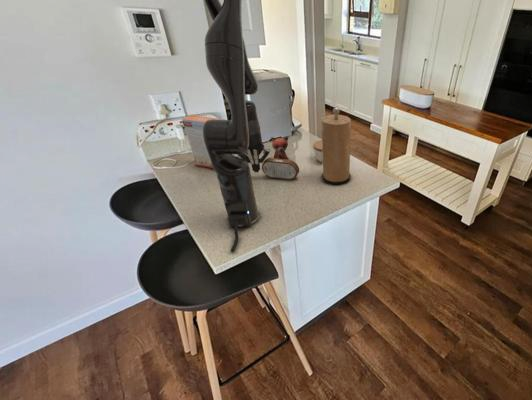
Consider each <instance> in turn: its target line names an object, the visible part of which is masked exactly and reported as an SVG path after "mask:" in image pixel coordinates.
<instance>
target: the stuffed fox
mask: <svg viewBox="0 0 532 400" xmlns="http://www.w3.org/2000/svg"><path fill="white" fill-rule="evenodd" d="M289 139H290V137H289V136H286V137H278V138H276V137H274V136H273V137H272V136H271V137H270V140H271V141H272V144H271V147H272V148H273V149H274V154H273V158H278V159H287V160H290V159H289V157H288V155H287V153H286V150H287V149H288V146H289V142H288V141H289Z"/></svg>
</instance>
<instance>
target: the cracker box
mask: <svg viewBox="0 0 532 400" xmlns="http://www.w3.org/2000/svg"><path fill="white" fill-rule="evenodd" d="M212 119H217V120H222V118H218V117H217V118H216V117H210V116H203V115H197V114H190V115H187V116H185V117H183V118H181V120H182V121H181V122H182V123H183V127H184V131H185V135H186V136H187V140H188V144H189V146H190V150H191V152H192V156H193V159H194V162H195V166H198V167H204V168H209V169H213V166H212V163H211V160H210V157H209V155H208V152H207V149H206V146H205V143H204V139H203V126H204V123H205V122H206V121H207V120H212Z"/></svg>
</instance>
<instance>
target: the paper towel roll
mask: <svg viewBox="0 0 532 400" xmlns="http://www.w3.org/2000/svg"><path fill="white" fill-rule="evenodd" d="M340 111H341V110H340V108H339V107H338V106H337V107H336V106H335V107H333V109H332V112H333V114H329V115H324V116H323V117H321V140H322V154H323V163H322V174H321V180H322V181H323V182H324V183H325V184H328V185H331V186H342V185H346V184H348V183H349V182H350V181H351V173H350V166H351V164H350V163H351V136H352V134H351V132H352V119H351V118H350V117H349V116H346V115H342V114H339V113H340Z"/></svg>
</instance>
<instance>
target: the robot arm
mask: <svg viewBox="0 0 532 400" xmlns="http://www.w3.org/2000/svg"><path fill="white" fill-rule="evenodd" d="M203 1H204V4H205V7H206V9H207V11H208V15H209V16H210V19H211V21H212V23H211V24H210V26H209V28H208V30H207V31H206V34H205V37H204V52H205V53H204V54H205V64H206V69H207V70H208V73H209V74H210V76H211V77H212V79H213V80H214V82H215V84H216V85H217V87H218V88H219V89H220V91H221V92H222V94H223V96H224V97H225V99H226V101H227V103H228V105H229V110H230V114H231V119H221V120H217V119H218V118H217V119H212V120H207V121H206V122H205V123H204V126H203V139H204V143H205V146H206V149H207V152H208V155H209V157H210V160H211V163H212V166H213V168H212V170H213V171H214V172H215V174H216V178H217V182H218V185H219V186H218V187H219V190H220V192H221V196H222V200H223V203H224V207H225V210H226V214H227V220H228V223H229V226H230V228H234V240H233V241H234V242H233V244H232V246H231V248H230V252H235V251H236V247H237V245H238V243H239V228H251V227H252V225H254V224H255V223H257V221H258V220H259V219H260V213H259V209H258V204H257V200H256V194H255V190H254V185H253V180H252V174H251V170H252V172H254V173H259V172H260V170H261V164H263V162H264V161H265V160H266V159H267V158H268V156H269V155H270V153H271V149H269V148H266V147H265V145H264V143H263V137H262V132H261V125H260V122H259V118H258V112H257V106H256V103H255V101H251V100H248V99H246V95H247V96H252V95H255V94H256V93H257V92H258V91H259V82H258V80H257V77H256V75H255V73H254V72H253V70H252V66H251V65H250V62H249V59H248V54H247V49H246V44H245V39H244V36H243V22H242V21H243V20H242V19H243V18H242V16H243V15H242V13H243V11H242V10H243V9H242V8H243V0H223V2H222V4H221V2H220V0H203ZM245 153H246V154H247V155H248V156H249V157H248V156H247V155H246V154H245ZM262 153H263V155H262V156H261V157H260V155H261V154H262ZM236 155H237V156H236ZM239 156H240V157H241V158H242V159H241V158H239ZM249 164H250V165H251V169H250V165H249Z"/></svg>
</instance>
